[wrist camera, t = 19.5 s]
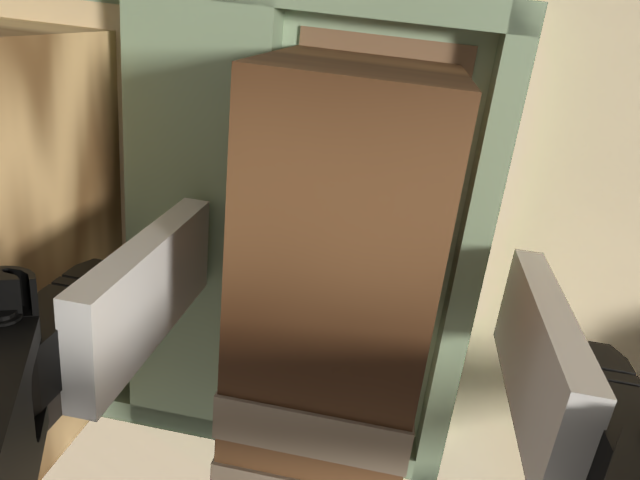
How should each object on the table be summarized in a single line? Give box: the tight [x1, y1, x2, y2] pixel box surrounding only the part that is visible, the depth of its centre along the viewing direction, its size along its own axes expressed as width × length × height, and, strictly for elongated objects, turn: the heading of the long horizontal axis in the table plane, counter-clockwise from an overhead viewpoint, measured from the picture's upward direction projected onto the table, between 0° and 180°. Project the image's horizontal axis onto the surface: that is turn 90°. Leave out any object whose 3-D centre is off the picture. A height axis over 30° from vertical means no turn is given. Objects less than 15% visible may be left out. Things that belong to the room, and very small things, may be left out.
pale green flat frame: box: [0, 0, 548, 480], centre depth 19 cm, size 15×17×2 cm
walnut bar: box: [210, 45, 482, 480], centre depth 15 cm, size 12×5×6 cm, turn 174°
